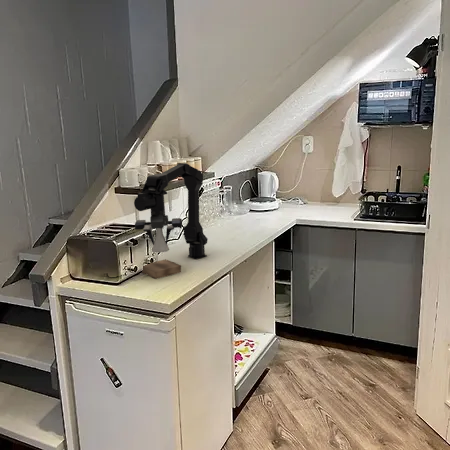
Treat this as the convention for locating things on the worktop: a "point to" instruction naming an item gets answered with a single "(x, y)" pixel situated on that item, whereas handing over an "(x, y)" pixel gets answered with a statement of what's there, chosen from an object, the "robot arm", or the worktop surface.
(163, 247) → the flask
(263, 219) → the worktop surface
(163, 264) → the walnut plinth
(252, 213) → the worktop surface
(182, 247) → the worktop surface
